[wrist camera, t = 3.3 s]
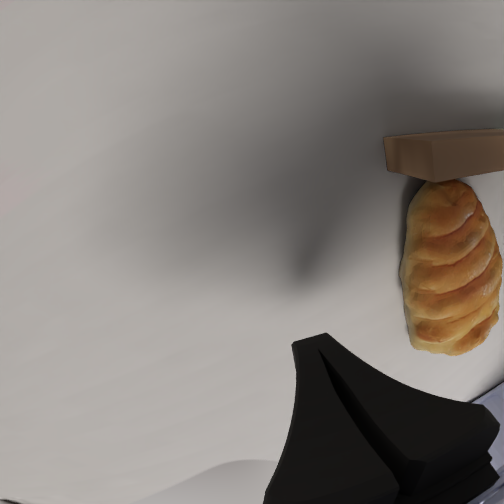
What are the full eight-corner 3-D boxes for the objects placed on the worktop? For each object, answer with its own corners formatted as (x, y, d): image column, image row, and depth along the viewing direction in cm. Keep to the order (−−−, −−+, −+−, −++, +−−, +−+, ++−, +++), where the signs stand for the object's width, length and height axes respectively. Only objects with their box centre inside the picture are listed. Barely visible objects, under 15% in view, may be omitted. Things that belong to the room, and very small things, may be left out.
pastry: (366, 203, 14) (413, 225, 10) (463, 154, 14) (515, 163, 10) (404, 345, 17) (436, 383, 14) (482, 291, 17) (519, 318, 13)
